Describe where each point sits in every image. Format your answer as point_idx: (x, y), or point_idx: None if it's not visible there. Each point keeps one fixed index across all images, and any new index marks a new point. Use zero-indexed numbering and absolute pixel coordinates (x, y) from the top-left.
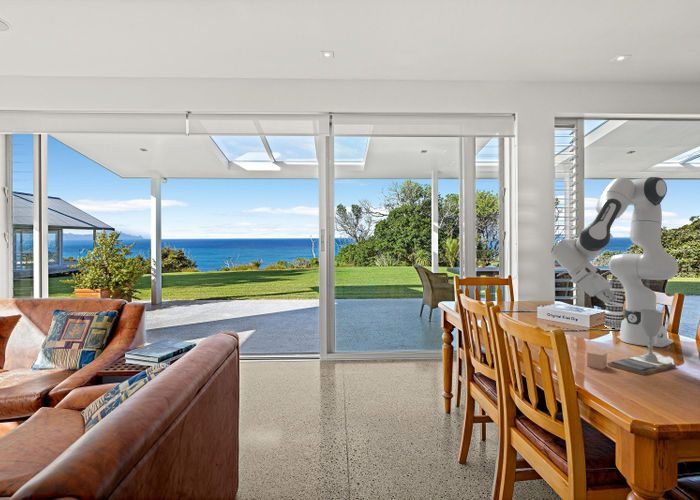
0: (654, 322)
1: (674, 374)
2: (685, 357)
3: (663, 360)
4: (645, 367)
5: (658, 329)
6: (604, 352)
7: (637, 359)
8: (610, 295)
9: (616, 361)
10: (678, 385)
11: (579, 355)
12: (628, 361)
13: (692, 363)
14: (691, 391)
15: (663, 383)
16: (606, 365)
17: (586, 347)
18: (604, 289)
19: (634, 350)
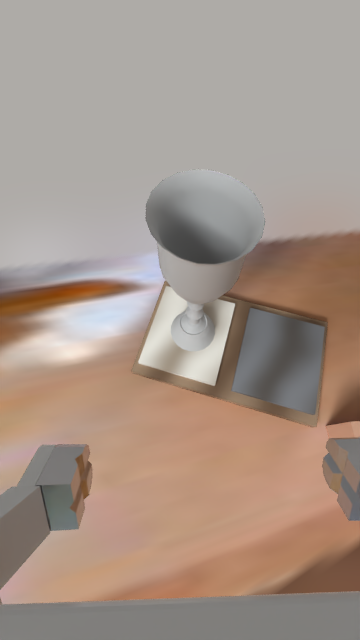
0: (235, 235)
1: (243, 276)
2: (17, 284)
3: (160, 304)
4: (291, 322)
5: (209, 247)
6: (356, 429)
7: (211, 359)
8: (28, 533)
9: (298, 401)
10: (334, 257)
11: (261, 564)
12: (263, 373)
13: (84, 263)
14: (354, 235)
15: (350, 280)
16: (328, 425)
17: (83, 598)
18: (348, 592)
19: (10, 415)
